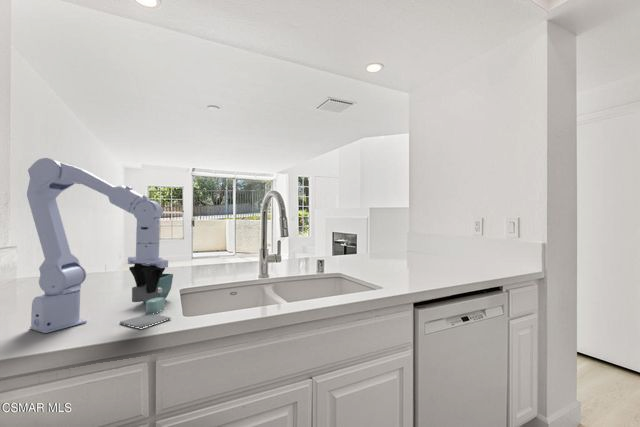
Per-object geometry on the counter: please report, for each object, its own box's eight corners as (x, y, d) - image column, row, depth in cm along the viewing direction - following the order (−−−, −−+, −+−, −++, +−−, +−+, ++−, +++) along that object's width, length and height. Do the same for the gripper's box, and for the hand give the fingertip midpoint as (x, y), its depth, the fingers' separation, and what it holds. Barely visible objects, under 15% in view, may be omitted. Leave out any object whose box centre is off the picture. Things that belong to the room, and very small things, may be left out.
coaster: (140, 329, 80) (141, 327, 80) (119, 324, 84) (119, 321, 84) (171, 319, 88) (171, 317, 88) (150, 315, 92) (150, 313, 92)
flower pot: (160, 305, 103) (160, 278, 103) (134, 304, 103) (134, 277, 103) (173, 298, 111) (173, 273, 112) (149, 298, 112) (149, 273, 112)
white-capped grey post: (137, 302, 82) (137, 289, 82) (129, 301, 84) (129, 287, 84) (163, 295, 89) (163, 283, 89) (155, 294, 91) (155, 282, 91)
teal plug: (155, 314, 93) (155, 302, 93) (143, 314, 92) (143, 302, 93) (166, 307, 101) (166, 296, 101) (155, 307, 100) (156, 296, 100)
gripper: (178, 243, 87) (177, 291, 87) (144, 241, 93) (143, 286, 93) (155, 245, 81) (153, 297, 80) (120, 242, 87) (119, 290, 87)
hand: (146, 291), depth 86 cm, fingers closed on white-capped grey post, 3 cm apart
